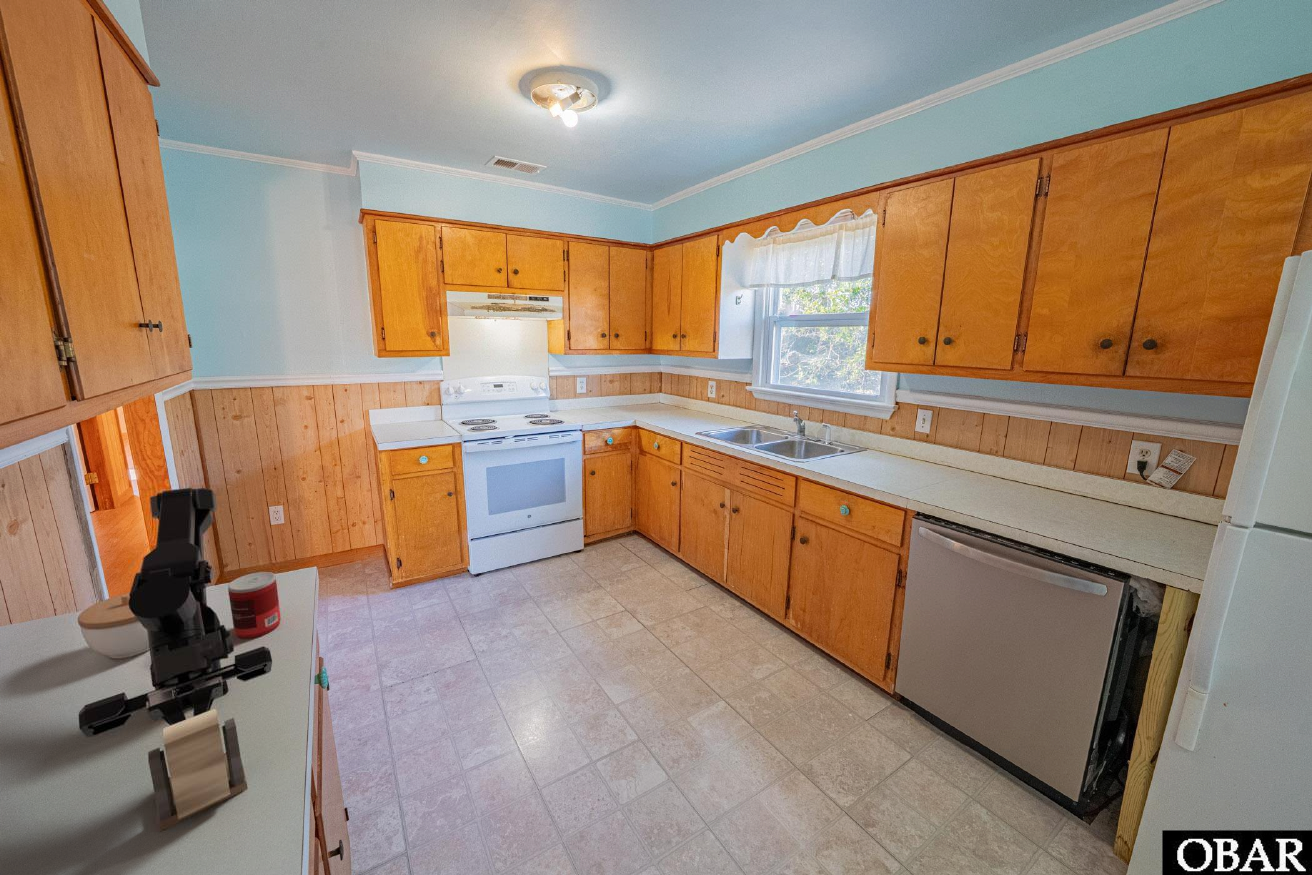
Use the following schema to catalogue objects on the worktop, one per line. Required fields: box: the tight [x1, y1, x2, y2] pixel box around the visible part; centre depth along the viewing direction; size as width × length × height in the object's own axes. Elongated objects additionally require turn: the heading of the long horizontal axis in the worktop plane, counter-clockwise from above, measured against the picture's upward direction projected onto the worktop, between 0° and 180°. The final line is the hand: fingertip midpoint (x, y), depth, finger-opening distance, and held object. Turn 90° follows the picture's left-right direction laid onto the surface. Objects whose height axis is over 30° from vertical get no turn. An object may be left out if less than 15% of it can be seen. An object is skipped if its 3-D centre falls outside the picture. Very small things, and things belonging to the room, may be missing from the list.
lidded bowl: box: [77, 592, 150, 660], centre depth 96 cm, size 13×13×11 cm
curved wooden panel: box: [162, 708, 230, 819], centre depth 64 cm, size 4×5×11 cm
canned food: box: [227, 571, 282, 639], centre depth 103 cm, size 8×8×11 cm
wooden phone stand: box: [147, 717, 248, 832], centre depth 67 cm, size 8×9×10 cm
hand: (195, 751), depth 65 cm, fingers closed, pressing on curved wooden panel
